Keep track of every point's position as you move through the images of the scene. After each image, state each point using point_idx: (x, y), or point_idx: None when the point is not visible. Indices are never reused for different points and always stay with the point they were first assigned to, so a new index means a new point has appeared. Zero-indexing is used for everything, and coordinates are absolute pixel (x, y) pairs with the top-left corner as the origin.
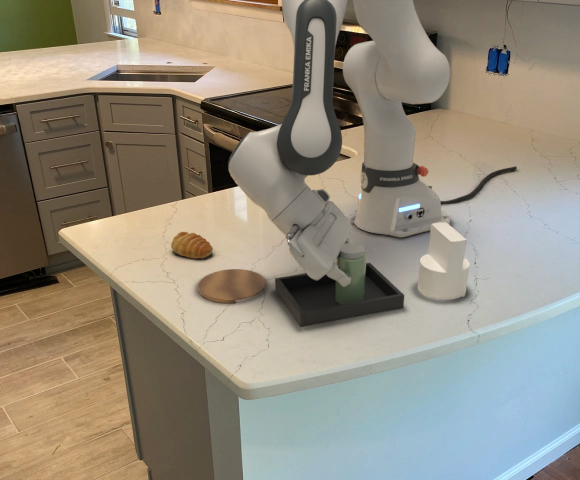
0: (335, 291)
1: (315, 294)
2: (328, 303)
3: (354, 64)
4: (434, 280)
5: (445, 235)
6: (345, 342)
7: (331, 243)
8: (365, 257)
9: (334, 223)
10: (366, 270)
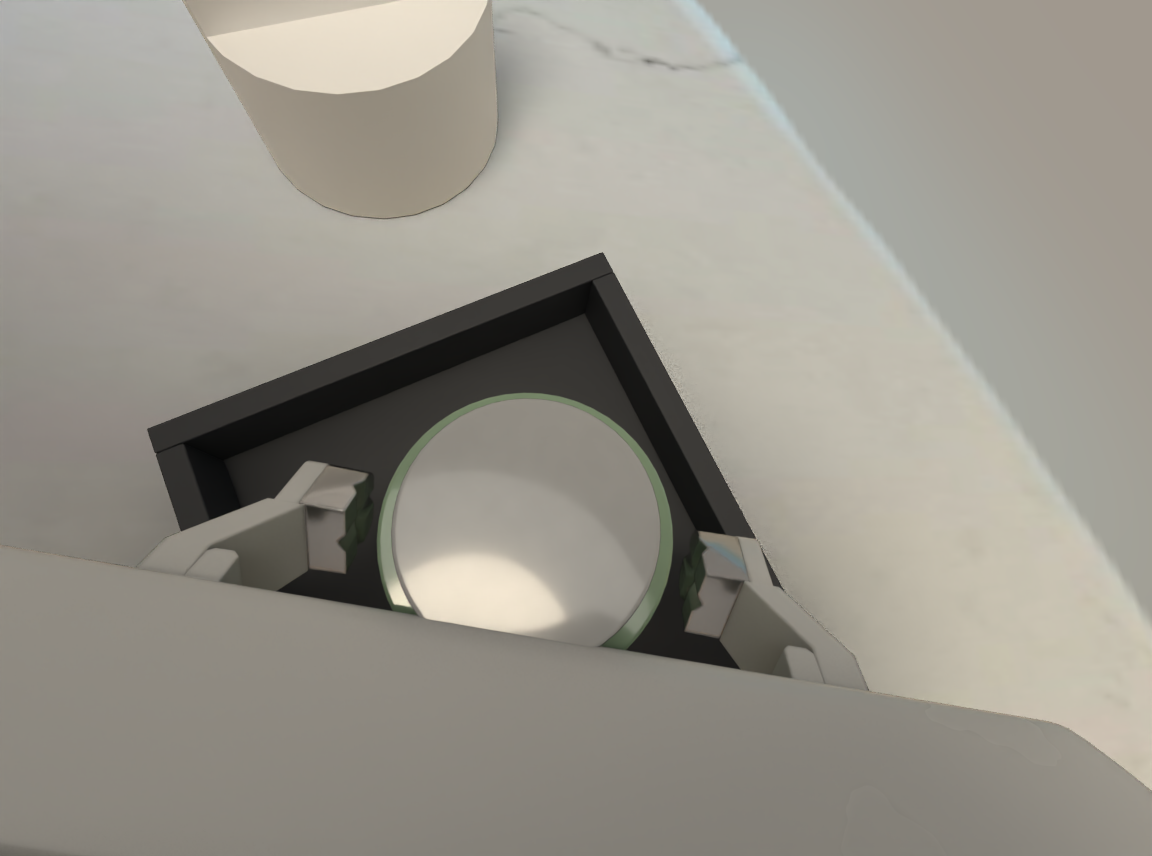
0: None
1: None
2: None
3: None
4: (476, 82)
5: None
6: (926, 561)
7: (668, 785)
8: (575, 401)
9: (34, 826)
10: (207, 459)
